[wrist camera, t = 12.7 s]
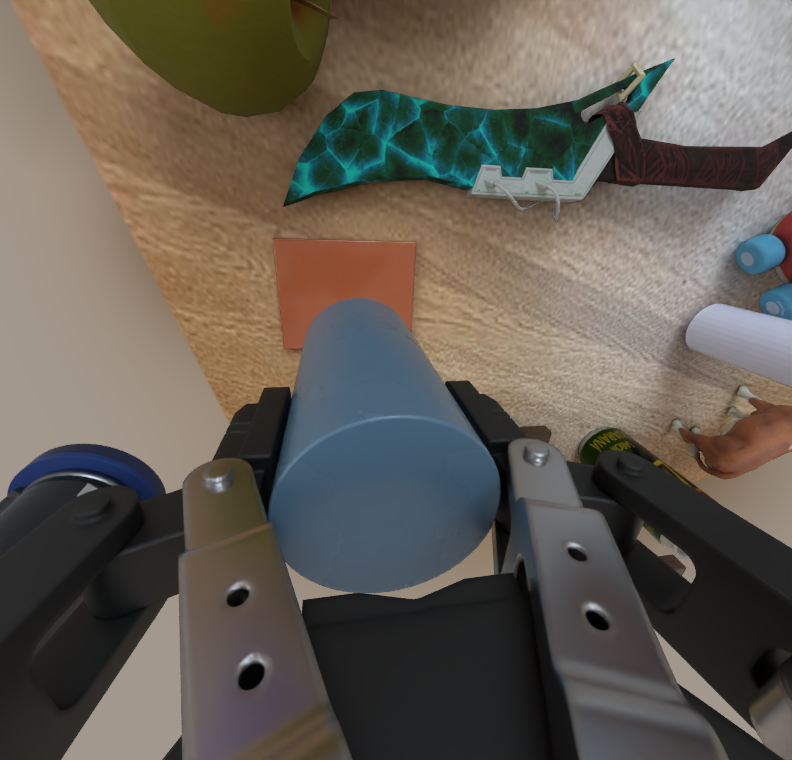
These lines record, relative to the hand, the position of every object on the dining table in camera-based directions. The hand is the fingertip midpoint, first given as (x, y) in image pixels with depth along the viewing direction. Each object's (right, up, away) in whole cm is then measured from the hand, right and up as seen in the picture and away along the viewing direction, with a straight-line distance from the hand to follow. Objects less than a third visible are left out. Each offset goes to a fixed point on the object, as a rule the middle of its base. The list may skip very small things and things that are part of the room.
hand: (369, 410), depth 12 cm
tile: (-3, +7, +15) cm, 17 cm away
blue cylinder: (-1, +2, +5) cm, 5 cm away
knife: (+12, +18, +13) cm, 25 cm away
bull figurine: (+36, -2, +27) cm, 45 cm away
